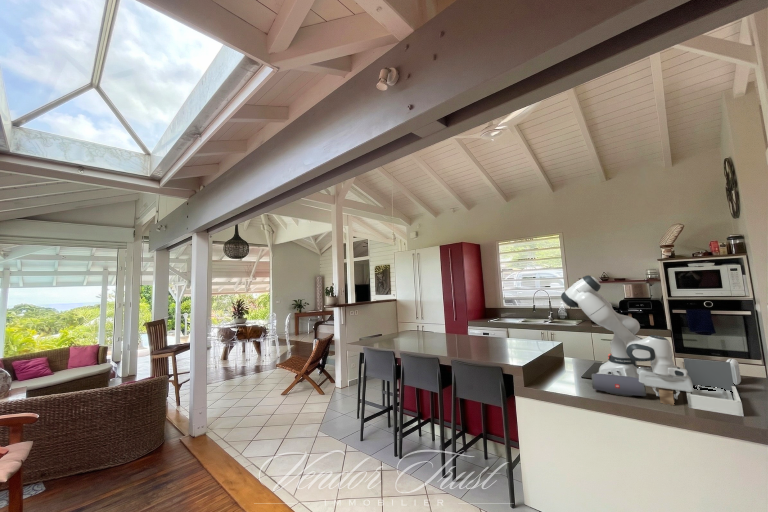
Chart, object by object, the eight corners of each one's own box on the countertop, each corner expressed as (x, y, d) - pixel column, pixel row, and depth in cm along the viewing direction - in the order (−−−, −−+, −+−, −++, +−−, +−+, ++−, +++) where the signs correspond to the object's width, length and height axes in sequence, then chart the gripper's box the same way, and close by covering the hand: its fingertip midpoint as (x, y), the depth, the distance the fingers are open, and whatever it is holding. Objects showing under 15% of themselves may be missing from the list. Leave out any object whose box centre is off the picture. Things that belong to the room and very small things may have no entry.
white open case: (688, 400, 154) (683, 369, 154) (687, 385, 170) (683, 357, 171) (740, 407, 142) (735, 374, 143) (734, 391, 158) (729, 361, 159)
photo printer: (730, 379, 174) (727, 356, 175) (742, 380, 170) (738, 357, 171) (726, 384, 168) (723, 360, 169) (738, 385, 164) (734, 362, 165)
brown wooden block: (660, 403, 153) (658, 391, 153) (661, 398, 158) (659, 386, 158) (674, 405, 150) (672, 392, 150) (674, 400, 155) (672, 388, 155)
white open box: (688, 407, 147) (686, 394, 147) (687, 392, 162) (686, 380, 163) (743, 416, 135) (741, 402, 135) (737, 399, 151) (735, 386, 151)
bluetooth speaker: (593, 393, 171) (590, 375, 171) (594, 388, 178) (592, 370, 179) (646, 401, 156) (644, 381, 157) (646, 394, 164) (643, 375, 164)
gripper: (635, 367, 160) (639, 395, 159) (691, 373, 146) (695, 403, 145) (636, 364, 164) (640, 391, 163) (690, 369, 150) (695, 399, 149)
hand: (667, 397), depth 154 cm, fingers closed on brown wooden block, 5 cm apart
